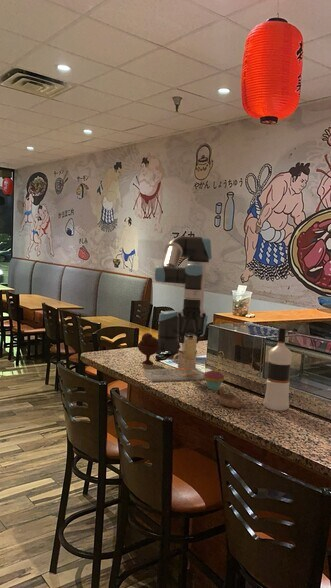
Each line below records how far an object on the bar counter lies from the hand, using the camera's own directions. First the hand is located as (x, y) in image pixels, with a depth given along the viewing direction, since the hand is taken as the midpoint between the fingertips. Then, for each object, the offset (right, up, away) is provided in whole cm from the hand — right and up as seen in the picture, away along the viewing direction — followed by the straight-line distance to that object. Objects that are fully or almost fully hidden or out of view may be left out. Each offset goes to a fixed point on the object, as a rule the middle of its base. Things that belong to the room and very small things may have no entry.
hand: (188, 350), depth 209 cm
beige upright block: (0, -4, 0) cm, 4 cm away
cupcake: (+9, -14, -15) cm, 23 cm away
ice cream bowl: (-19, -9, +21) cm, 30 cm away
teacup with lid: (-2, -11, +16) cm, 19 cm away
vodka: (+31, -17, -36) cm, 50 cm away
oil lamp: (+13, -16, -36) cm, 42 cm away
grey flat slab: (-7, -12, -1) cm, 14 cm away
